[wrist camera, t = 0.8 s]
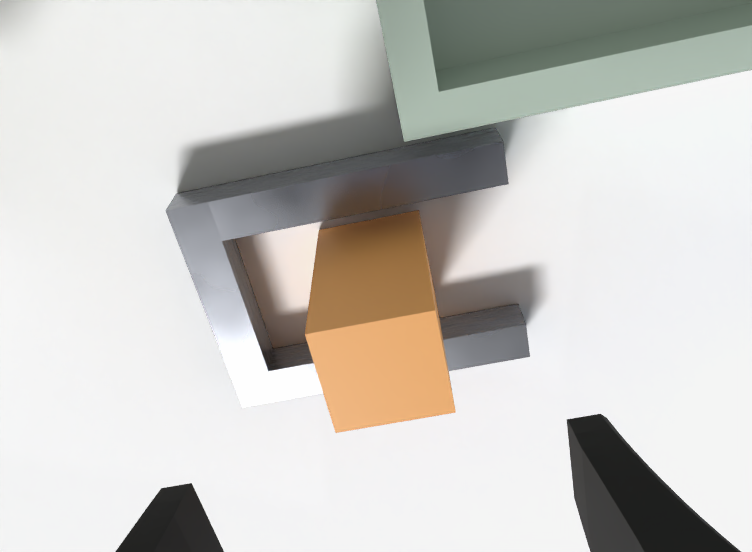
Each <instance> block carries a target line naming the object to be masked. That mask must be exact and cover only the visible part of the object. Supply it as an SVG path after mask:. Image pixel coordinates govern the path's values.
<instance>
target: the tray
mask: <svg viewBox="0 0 752 552" xmlns="http://www.w3.org/2000/svg"><path fill="white" fill-rule="evenodd" d="M376 2H377V7H378V12H379V17H380V22H381V27H382V32H383V38H384V43H385V48H386V53H387V58H388V63H389V68H390V73H391V78H392V83H393V88H394V93H395V98H396V104H397V109H398V114H399V119H400V124H401V129H402V134H403V139H404V142H406V141H411V140H416V139H421V138H426V137H430V136H435V135H440V134H445V133H450V132H454V131H459V130H464V129H469V128H474V127H479V126H483V125H488V124H493V123H498V122H503V121H507V120H512V119H517V118H522V117H527V116H532V115H536V114H541V113H546V112H551V111H556V110H561V109H565V108H570V107H575V106H580V105H585V104H589V103H594V102H599V101H604V100H609V99H614V98H618V97H623V96H628V95H633V94H638V93H642V92H647V91H652V90H657V89H662V88H667V87H671V86H676V85H681V84H686V83H691V82H695V81H700V80H705V79H710V78H715V77H720V76H724V75H729V74H734V73H739V72H744V71H748V70H752V0H376Z"/></svg>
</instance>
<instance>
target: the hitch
mask: <svg viewBox="0 0 752 552" xmlns="http://www.w3.org/2000/svg"><path fill="white" fill-rule="evenodd" d="M506 184H508V176H507V168H506V160H505V152H504V144H503V140H502V138H501V137H500V135H499V133H498V131H497V129H496V128H492V129H487V130H482V131H477V132H472V133H467V134H463V135H458V136H453V137H448V138H443V139H438V140H434V141H429V142H424V143H419V144H414V145H409V146H405V147H400V148H395V149H390V150H385V151H380V152H376V153H371V154H366V155H361V156H356V157H351V158H347V159H342V160H337V161H332V162H327V163H322V164H318V165H313V166H308V167H303V168H298V169H293V170H289V171H284V172H279V173H274V174H269V175H264V176H260V177H255V178H250V179H245V180H240V181H235V182H231V183H226V184H221V185H216V186H211V187H206V188H202V189H197V190H192V191H187V192H182V193H177V194H176V195H175V196H174V198H173V200H172V201H171V203H170V204H169V206H168V208H167V209H166V213H167V216H168V218H169V221H170V223H171V226H172V228H173V231H174V234H175V236H176V239H177V241H178V244H179V246H180V249H181V251H182V254H183V257H184V259H185V262H186V264H187V267H188V269H189V272H190V274H191V277H192V279H193V282H194V285H195V287H196V290H197V292H198V295H199V297H200V300H201V302H202V305H203V308H204V310H205V313H206V315H207V318H208V320H209V323H210V325H211V328H212V330H213V333H214V336H215V338H216V341H217V343H218V346H219V348H220V351H221V353H222V356H223V359H224V361H225V364H226V366H227V369H228V371H229V374H230V376H231V379H232V381H233V384H234V387H235V389H236V392H237V394H238V397H239V399H240V402H241V404H242V407H248V406H254V405H259V404H265V403H271V402H276V401H282V400H288V399H293V398H299V397H305V396H310V395H316V394H322V393H323V391H322V388H321V384H320V381H319V378H318V375H317V372H316V368H315V365H314V362H313V359H312V356H311V353H310V349H309V346H308V343H302V344H297V345H291V346H286V347H280V348H275V349H273V348H272V345H271V342H270V339H269V336H268V333H267V331H266V328H265V325H264V322H263V319H262V316H261V313H260V310H259V307H258V305H257V302H256V299H255V296H254V293H253V290H252V287H251V284H250V281H249V279H248V276H247V273H246V270H245V267H244V264H243V261H242V258H241V255H240V253H239V250H238V247H237V244H236V241H235V238H240V237H245V236H250V235H255V234H260V233H265V232H270V231H275V230H280V229H285V228H290V227H295V226H300V225H305V224H310V223H315V222H320V221H326V220H331V219H336V218H341V217H346V216H351V215H356V214H361V213H366V212H371V211H376V210H381V209H386V208H391V207H396V206H401V205H406V204H411V203H416V202H421V201H426V200H431V199H436V198H441V197H446V196H451V195H456V194H461V193H466V192H471V191H476V190H481V189H486V188H491V187H496V186H501V185H506ZM439 319H440V325H441V331H442V336H443V342H444V348H445V354H446V360H447V365H448V371H452V370H457V369H463V368H469V367H474V366H480V365H486V364H491V363H497V362H503V361H508V360H514V359H520V358H525V357H530V353H529V345H528V337H527V329H526V323H525V321H524V318H523V315H522V313H521V310H520V307H519V305H518V304H514V305H509V306H504V307H498V308H493V309H487V310H482V311H476V312H471V313H465V314H460V315H455V316H449V317H444V318H439Z"/></svg>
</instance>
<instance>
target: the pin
mask: <svg viewBox="0 0 752 552" xmlns="http://www.w3.org/2000/svg"><path fill="white" fill-rule="evenodd" d="M305 337H306V340H307V343H308V346H309V349H310V353H311V356H312V359H313V362H314V365H315V368H316V372H317V375H318V378H319V381H320V384H321V388H322V391H323V394H324V397H325V400H326V403H327V407H328V410H329V413H330V416H331V419H332V423H333V426H334V429H335V432H336V433H338V432H344V431H349V430H355V429H361V428H367V427H373V426H379V425H385V424H390V423H396V422H402V421H408V420H414V419H420V418H426V417H432V416H437V415H443V414H449V413H455V406H454V400H453V394H452V388H451V383H450V377H449V371H448V365H447V360H446V354H445V348H444V342H443V336H442V331H441V325H440V319H439V313H438V308H437V302H436V296H435V291H434V286H433V281H432V276H431V271H430V265H429V260H428V255H427V250H426V245H425V240H424V235H423V230H422V225H421V220H420V214H419V210H417V211H412V212H407V213H402V214H397V215H392V216H387V217H382V218H377V219H372V220H367V221H362V222H357V223H352V224H347V225H341V226H336V227H331V228H326V229H321V230H319V233H318V241H317V248H316V255H315V263H314V270H313V277H312V285H311V292H310V300H309V307H308V314H307V322H306V329H305Z"/></svg>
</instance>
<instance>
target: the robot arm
mask: <svg viewBox="0 0 752 552" xmlns="http://www.w3.org/2000/svg"><path fill="white" fill-rule="evenodd" d="M567 426H568V436H569V447H570V457H571V467H572V478H573V488H574V498H575V501H576V505H577V508H578V512H579V515H580V519H581V522H582V525H583V529H584V532H585V535H586V538H587V542H588V545H589V548H590V551H591V552H741V551H740V550H738V549H737V548H736V547H735V546H734V545H732V544H731V543H730V542H729V541H728V540H726V539H725V538H724V537H723V536H722V535H721V534H719V533H718V532H717V531H716V530H715V529H714V528H713V527H711V526H710V525H709V524H708V523H707V522H706V521H705V520H704V519H702V518H701V517H700V516H699V515H698V514H697V513H696V512H695V511H694V510H693V509H692V508H690V507H689V506H688V505H687V504H686V503H685V502H684V501H683V500H682V499H681V498H680V497H679V496H678V495H677V494H676V493H675V492H674V491H673V490H672V489H671V488H670V487H669V486H668V485H667V484H666V483H665V482H664V481H663V480H662V479H661V478H660V477H659V476H658V475H657V474H656V473H655V472H654V471H653V470H652V469H651V468H650V467H649V466H648V465H647V464H646V463H645V462H644V461H643V460H642V458H641V457H640V456H639V455H638V454H637V453H636V452H635V451H634V450H633V449H632V448H631V446H630V445H629V444H628V443H627V442H626V441H625V440H624V438H623V437H622V436H621V435H620V434H619V433H618V431H617V430H616V429H615V428H614V427H613V425H612V424H611V423H610V422H609V420H608V419H607V418H606V417H604V416H603V415H601V414H597V415H591V416H585V417H579V418H574V419H568V420H567ZM116 552H224V551H223V549H222V547H221V545H220V543H219V540H218V538H217V536H216V534H215V532H214V530H213V528H212V526H211V524H210V521H209V519H208V517H207V515H206V513H205V511H204V509H203V507H202V504H201V502H200V500H199V498H198V496H197V494H196V492H195V490H194V488H193V485H192V483H190V484H185V485H179V486H173V487H167V488H161V490H160V491H159V492H158V494H157V495H156V496H155V498H154V499H153V500H152V502H151V503H150V505H149V506H148V507H147V509H146V510H145V512H144V513H143V514H142V516H141V517H140V518H139V520H138V521H137V523H136V524H135V525H134V527H133V528H132V530H131V531H130V532H129V534H128V535H127V537H126V538H125V539H124V541H123V542H122V543H121V545H120V546H119V548H118V549H117V550H116Z"/></svg>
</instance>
